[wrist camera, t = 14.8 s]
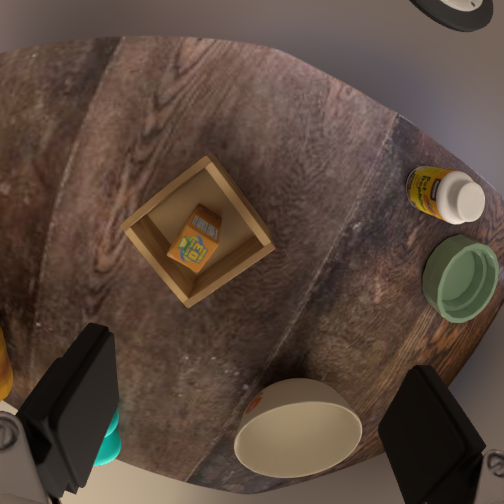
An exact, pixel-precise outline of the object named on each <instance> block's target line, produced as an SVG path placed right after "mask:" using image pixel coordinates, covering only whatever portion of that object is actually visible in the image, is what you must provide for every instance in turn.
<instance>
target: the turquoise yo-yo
mask: <svg viewBox="0 0 504 504" xmlns="http://www.w3.org/2000/svg"><path fill="white" fill-rule="evenodd" d="M118 418H119V416H118V410H117V409H116V411H115V414H114V416H113V418H112V421H111V423H110V425H109V428H108V430H107V433H106V435H105V437H104V440H103V442H102V445H101V447H100V450H99V452H98V455H97V457H96V460H95V462H94V466H97V465H104V464H106V463H109V462H111V461H112V460H114V459H115V458H116V457H117V455H118V454H119V452H120V449H121V438H120V435H119V433H118V432H117V430H116V429H115V428H116V426H117V424H118Z"/></svg>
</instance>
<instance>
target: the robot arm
mask: <svg viewBox="0 0 504 504" xmlns="http://www.w3.org/2000/svg"><path fill="white" fill-rule="evenodd" d="M440 1H442V2H443V3H445V4H446V5H448V6H450V7H452V8H454V9H457V10H461V11H472V10H475V9H477V8H478V7H479V6H480V5H481V4H482V1H483V0H440ZM118 402H119V392H118V382H117V371H116V358H115V341H114V334H113V333H111V332H109V329H108V327H107V326H103V325H99V324H95V323H89V324H88V325H87V326H86V327H85V328H84V330H83V331H82V332H81V334H80V335H79V336H78V337H77V339H76V340H75V341H74V343H73V344H72V345H71V346H70V348H69V349H68V350H67V352H66V353H65V354H64V356H63V357H62V358H61V357H60V358H57V359H56V360H55V361H54V362H53V364H52V365H51V366H50V368H49V369H48V370H47V372H46V373H45V374H44V376H43V377H42V378H41V380H40V381H39V382H38V384H37V385H36V386H35V388H34V389H33V391H32V392H31V393H30V395H29V396H28V398H27V399H26V400H25V402H24V403H23V405H22V406H21V407H20V409H19V410H18V412H17V413H16V415H13V414H11V413H9V412H5V411H0V504H62V503H61V500H60V497H62V496H63V493H64V491H65V490H66V491H68V492H71V493H74V494H76V493H77V490H78V488H79V487H81V488H83V487H84V486H85V485H86V483H87V480H88V477H89V475H90V472H91V470H92V467H93V465H94V462H95V460H96V457H97V455H98V452H99V450H100V447H101V445H102V442H103V440H104V437H105V435H106V433H107V430H108V428H109V425H110V423H111V421H112V418H113V416H114V414H115V411H116V409H117V406H118ZM378 433H379V436H380V439H381V441H382V444H383V446H384V449H385V451H386V454H387V456H388V459H389V461H390V464H391V467H392V469H393V472H394V475H395V477H396V480H397V483H398V485H399V488H400V491H401V493H402V496H403V499H404V501H405V504H504V452H503V451H501V450H497V449H492V450H489V451H487V452H486V454H485V455H484V456H483V455H482V453H481V452H482V451H483V450H484V449H485V447H486V444H485V443H484V441H483V440H482V438H481V437H480V435H479V434H478V432H477V431H476V429H475V427H474V426H473V425H472V423H471V422H470V420H469V418H468V417H467V416H466V414H465V413H464V411H463V410H462V408H461V407H460V405H459V404H458V402H457V401H456V399H454V396H453V395H452V394H451V392H450V391H449V389H448V388H447V387H446V385H445V384H444V382H443V381H442V380H441V378H440V377H439V375H438V374H437V373H436V371H435V370H434V368H433V367H432V366H430V365H415V366H414V367H413V368H412V369H411V370H409V371H408V373H407V374H406V376H405V378H404V380H403V382H402V384H401V386H400V388H399V390H398V392H397V394H396V395H395V397H394V399H393V401H392V403H391V404H390V406H389V408H388V410H387V412H386V413H385V415H384V417H383V418H382V420H381V422H380V424H379V426H378Z"/></svg>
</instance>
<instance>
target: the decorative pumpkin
mask: <svg viewBox="0 0 504 504" xmlns="http://www.w3.org/2000/svg"><path fill="white" fill-rule="evenodd" d="M12 382H13V372H12V366H11V363H10V359H9V356H8V353H7V349H6V343H5V339H4V335H3V331H2V327H1V325H0V401H2V400H3V399H4V398H5V397H6V396H8V394H9V392H10V390H11V388H12Z"/></svg>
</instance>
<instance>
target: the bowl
mask: <svg viewBox="0 0 504 504" xmlns="http://www.w3.org/2000/svg"><path fill="white" fill-rule="evenodd" d="M361 435H362V425H361V422H360V419H359V418H358V416H357V415H356V413H355V412H354V411H353V410H352V408H351V407H350V406H349V405H348V403H347V402H346V401H345V400H344V399H343V397H342V396H341V395H340V394H339V393H338V392H337V391H335V390H334V389H333V388H331V387H330V386H328V385H326V384H324V383H322V382H320V381H316V380H313V379H307V378H292V379H286V380H282V381H279V382H276V383H274V384H272V385H270V386H268V387H266V388H265V389H263V390H262V391H261V392H259V393H258V394H257V395H256V396H255V397H254V398H253V399H252V400H251V402H250V403H249V405H248V406H247V408H246V410H245V412H244V414H243V417H242V419H241V422H240V425H239V428H238V431H237V434H236V438H235V441H234V450H235V454H236V456H237V458H238V459H239V461H240V462H241V463H242V464H243V465H244V466H246V467H247V468H249V469H250V470H252V471H254V472H257V473H260V474H263V475H266V476H272V477H281V478H291V477H301V476H307V475H311V474H315V473H318V472H321V471H323V470H326V469H328V468H330V467H332V466H334V465H336V464H338V463H339V462H341V461H342V460H344V459H345V458H346V457H347V456H348V455H349V454H350V453H351V452H352V451H353V450H354V449H355V448H356V446H357V445H358V443H359V441H360V438H361Z"/></svg>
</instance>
